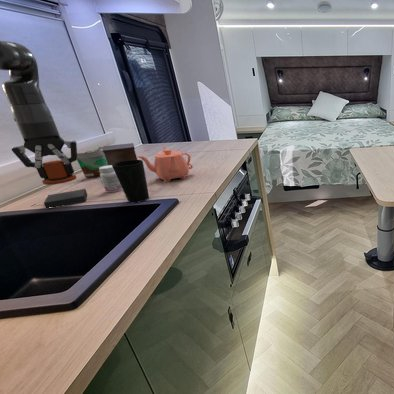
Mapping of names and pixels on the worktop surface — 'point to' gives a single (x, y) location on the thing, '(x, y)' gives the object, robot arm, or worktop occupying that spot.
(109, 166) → the pill bottle
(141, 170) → the cup
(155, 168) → the teapot
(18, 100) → the robot arm
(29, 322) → the worktop surface
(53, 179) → the hat
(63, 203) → the stand
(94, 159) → the food container
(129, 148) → the brown tapered pot
